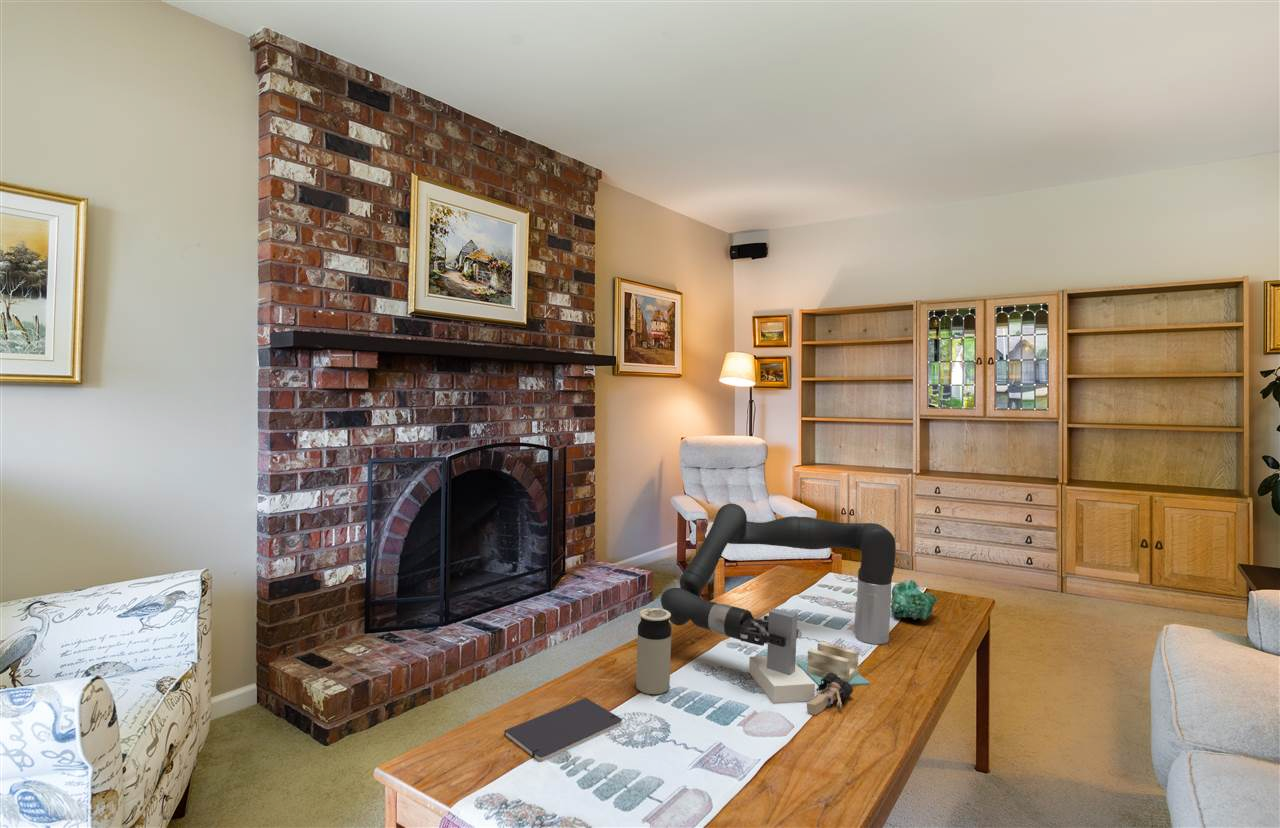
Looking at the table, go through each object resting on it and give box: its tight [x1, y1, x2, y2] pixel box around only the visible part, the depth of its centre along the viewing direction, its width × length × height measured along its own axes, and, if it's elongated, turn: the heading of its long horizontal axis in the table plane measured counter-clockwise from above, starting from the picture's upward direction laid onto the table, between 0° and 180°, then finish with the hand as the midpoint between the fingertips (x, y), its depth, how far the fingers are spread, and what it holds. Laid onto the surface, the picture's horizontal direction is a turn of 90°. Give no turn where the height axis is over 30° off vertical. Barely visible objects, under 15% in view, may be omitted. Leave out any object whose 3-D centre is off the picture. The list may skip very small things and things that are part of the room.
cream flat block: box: [748, 655, 816, 704], centre depth 156 cm, size 16×10×4 cm, turn 11°
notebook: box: [503, 697, 623, 762], centre depth 134 cm, size 13×2×21 cm
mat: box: [797, 661, 871, 687], centre depth 164 cm, size 13×13×1 cm
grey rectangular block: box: [766, 608, 798, 675], centre depth 156 cm, size 6×3×14 cm, turn 53°
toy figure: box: [806, 672, 854, 716], centre depth 148 cm, size 7×6×15 cm
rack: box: [806, 641, 859, 683], centre depth 164 cm, size 10×9×6 cm
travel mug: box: [635, 607, 672, 695], centre depth 153 cm, size 8×8×18 cm
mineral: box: [890, 579, 938, 622], centre depth 208 cm, size 18×16×10 cm
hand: (791, 638), depth 155 cm, fingers open, 6 cm apart
